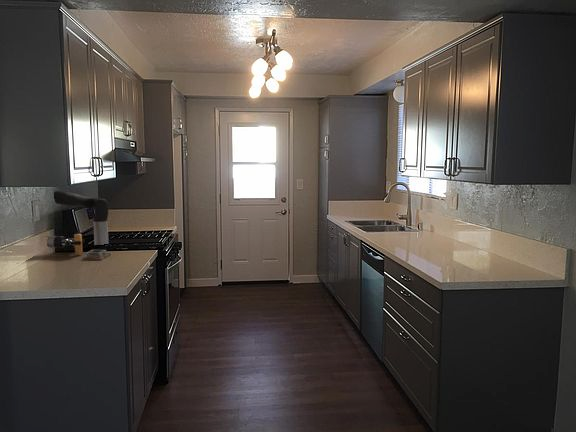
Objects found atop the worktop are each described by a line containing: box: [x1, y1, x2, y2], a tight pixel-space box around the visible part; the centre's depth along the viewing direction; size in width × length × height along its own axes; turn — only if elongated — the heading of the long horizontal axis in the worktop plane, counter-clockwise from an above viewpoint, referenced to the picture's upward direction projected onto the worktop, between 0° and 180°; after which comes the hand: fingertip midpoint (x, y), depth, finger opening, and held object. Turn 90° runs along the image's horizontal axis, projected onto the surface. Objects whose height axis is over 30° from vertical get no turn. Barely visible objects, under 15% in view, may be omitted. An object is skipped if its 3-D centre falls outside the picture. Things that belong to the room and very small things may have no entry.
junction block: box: [81, 249, 112, 261], centre depth 295 cm, size 15×12×4 cm
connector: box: [73, 233, 84, 255], centre depth 300 cm, size 4×4×12 cm
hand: (82, 242), depth 300 cm, fingers closed on connector, 4 cm apart
